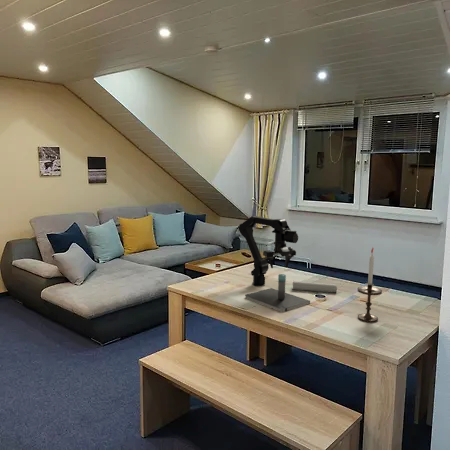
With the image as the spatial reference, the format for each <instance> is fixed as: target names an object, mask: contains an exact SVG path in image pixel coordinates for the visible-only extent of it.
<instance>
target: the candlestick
mask: <svg viewBox="0 0 450 450" xmlns="http://www.w3.org/2000/svg"><path fill="white" fill-rule="evenodd" d="M370 252H371V254H370V255H369V261H368V276H367V277H368V279H367V282H366V283H365V285H366V286H365V285H364V286H363V285H361V286H359V287H357V289H356V290H357V292H358V293H360V294H362V295H367V300H366V302H365V305H366V307H365V310H366V313H359V314H358V315H357V320H359V321H361V322H363V323H377V322H379V318H378V316H376V315H374V314H371V313H370V312H371V310H372V308H371V307H372V304H373V303H372V302H371V299H372V297H371V296H379V295H382V292H383V290H382V289H381V288H378V287H375V284H374V283H373V276H374V261H375V260H374V259H375V256H374V247H372V248H371V251H370Z"/></svg>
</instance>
